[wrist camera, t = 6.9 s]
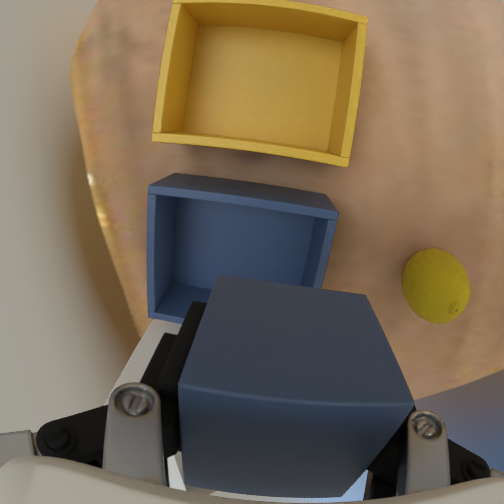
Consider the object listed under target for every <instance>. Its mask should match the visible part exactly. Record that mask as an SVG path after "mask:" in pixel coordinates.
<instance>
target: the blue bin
mask: <svg viewBox="0 0 504 504" xmlns="http://www.w3.org/2000/svg"><path fill="white" fill-rule="evenodd" d="M338 214H339V212H338V210H337V209H336V208H335V206H334V205H333V204H332V202H331V201H330V200H329V198H328V197H327V196H326V195H325V194H321V193H315V192H310V191H304V190H298V189H292V188H286V187H279V186H273V185H266V184H259V183H252V182H245V181H238V180H230V179H223V178H214V177H206V176H197V175H188V174H179V173H174V174H172V175H169V176H167V177H165V178H163V179H161V180H159V181H156V182H154V183H152V184H150V185H149V186H148V209H147V297H148V317H149V318H154V319H159V320H163V321H168V322H173V323H178V324H182V323H183V321H184V319H185V316H186V314H187V312H188V310H189V307H190V305H191V303H192V301H198V302H204V303H207V302H208V300H209V297H210V294H211V292H212V289H213V286H214V284H215V281H216V278H217V276H218V275H219V274H222V275H228V276H235V277H241V278H248V279H255V280H261V281H268V282H275V283H282V284H289V285H296V286H303V287H311V288H318V289H321V287H322V283H323V279H324V275H325V271H326V267H327V263H328V258H329V254H330V250H331V246H332V241H333V237H334V233H335V228H336V224H337V221H336V220H337V219H338Z"/></svg>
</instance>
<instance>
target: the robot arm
mask: <svg viewBox="0 0 504 504" xmlns="http://www.w3.org/2000/svg"><path fill="white" fill-rule="evenodd" d="M206 305H207V303H204V302H198V301H192V303H191V305H190V307H189V310H188V312H187V314H186V316H185V319H184V321H183V323H182V325H181V328H180V330H179V332H178V334H177V335H176V334H171V333H166V332H165V333H164V334H163V336H162V338H161V340H160V342H159V344H158V346H157V348H156V350H155V352H154V354H153V356H152V358H151V360H150V362H149V364H148V366H147V368H146V370H145V372H144V374H143V376H142V378H141V380H140V382H139V383H138V382H131V383H125V384H122V385H120V386H118V387H117V388H115V389H114V391H113V392H112V393H111V395H110V398H109V404H108V405H105V406H101V407H99V408H95V409H92V410H89V411H85V412H82V413H79V414H75V415H72V416H68V417H65V418H61V419H58V420H54V421H51V422H48V423H46V424H44V425H43V426H42V427H41V428H40V429H39V431H38V432H35V433H32V432H31V431H30V430H25V431H17V432H9V433H0V504H504V473H503V472H501V471H498V470H495V469H493V468H492V469H491V470H490V469H489V467H488V465H487V463H486V462H485V460H483V459H482V458H481V457H479V456H477V455H476V454H474V453H472V452H470V451H469V450H466V449H465V448H463V447H462V446H460V445H458V444H456V443H454V442H453V441H451V440H449V439H448V438H447V430H446V426H445V423H444V421H443V420H442V418H440V417H439V416H438V415H437V414H436V413H434V412H432V411H428V410H416V407H415V405H414V406H413V408H412V409H411V411H410V412H409V414H408V415H407V417H406V418H405V420H404V421H403V422H402V424H401V425H400V427H399V428H398V429H397V431H396V432H395V434H394V435H393V436H392V438H391V439H390V440H389V442H388V443H387V444H386V445H385V447H384V448H383V449H382V451H381V452H380V453H379V454H378V456H377V457H376V458H375V459H374V461H373V462H372V463H371V464H370V465H369V467H368V468H367V470H368V475H367V480H366V487H365V493H364V498H363V501H353V502H337V503H277V502H262V501H250V500H240V499H232V498H224V497H217V496H210V495H205V494H199V493H194V492H189V491H184V490H179V489H175V488H170V481H169V470H168V458H169V457H171V456H173V455H175V454H177V451H179V452H181V440H180V422H179V400H178V383H179V380H180V377H181V374H182V371H183V368H184V366H185V363H186V360H187V357H188V354H189V352H190V349H191V346H192V343H193V341H194V338H195V335H196V332H197V330H198V327H199V324H200V321H201V319H202V316H203V313H204V311H205V308H206Z"/></svg>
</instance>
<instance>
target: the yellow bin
mask: <svg viewBox="0 0 504 504" xmlns="http://www.w3.org/2000/svg"><path fill="white" fill-rule="evenodd" d="M367 21H368V18H367V17H364V16H361V15H357V14H353V13H349V12H345V11H341V10H336V9H332V8H327V7H322V6H317V5H311V4H306V3H299V2H293V1H286V0H173V5H172V9H171V14H170V18H169V23H168V28H167V34H166V39H165V44H164V50H163V56H162V62H161V68H160V75H159V82H158V89H157V97H156V105H155V113H154V122H153V133H152V142H162V143H176V144H188V145H199V146H210V147H219V148H228V149H236V150H244V151H252V152H259V153H266V154H273V155H280V156H286V157H292V158H298V159H304V160H310V161H315V162H320V163H326V164H331V165H336V166H341V167H346V168H347V167H348V164H349V158H350V153H351V147H352V141H353V135H354V129H355V123H356V116H357V110H358V103H359V95H360V88H361V80H362V72H363V63H364V54H365V44H366V34H367Z"/></svg>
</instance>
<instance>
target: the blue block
mask: <svg viewBox="0 0 504 504" xmlns="http://www.w3.org/2000/svg"><path fill="white" fill-rule="evenodd" d="M178 400H179V422H180V440H181V454H182V467H183V479H184V484H185V485H189V486H194V487H199V488H205V489H210V490H217V491H223V492H230V493H238V494H247V495H258V496H271V497H293V498H295V497H296V498H328V497H341V496H342V495H343V494H344V493H345V492H346V491H347V490H348V489H349V488H350V487H351V486H352V485H353V484H354V483H355V482H356V480H357V479H358V478H359V477H360V476H361V475H362V474H363V472H364V471H365V470H366V469H367V468H368V467H369V465H370V464H371V463H372V462H373V461H374V459H375V458H376V457H377V456H378V454H379V453H380V452H381V451H382V449H383V448H384V447H385V445H386V444H387V443H388V442H389V440H390V439H391V438H392V436H393V435H394V434H395V432H396V431H397V429H398V428H399V427H400V425H401V424H402V422H403V421H404V420H405V418H406V417H407V415H408V414H409V412H410V411H411V409H412V408H413V406H414V400H413V398H412V395H411V393H410V390H409V388H408V385H407V383H406V381H405V378H404V376H403V374H402V371H401V369H400V367H399V365H398V362H397V360H396V358H395V356H394V353H393V351H392V349H391V347H390V345H389V342H388V340H387V338H386V336H385V334H384V332H383V329H382V327H381V325H380V323H379V321H378V319H377V317H376V315H375V313H374V311H373V309H372V307H371V305H370V303H369V301H368V299H367V297H366V295H364V294H356V293H348V292H341V291H333V290H325V289H318V288H311V287H303V286H296V285H289V284H282V283H275V282H268V281H261V280H255V279H248V278H241V277H235V276H228V275H222V274H219V275H218V276H217V278H216V281H215V284H214V286H213V289H212V292H211V294H210V297H209V300H208V302H207V305H206V308H205V311H204V313H203V316H202V319H201V321H200V324H199V327H198V330H197V332H196V335H195V338H194V341H193V343H192V346H191V349H190V352H189V354H188V357H187V360H186V363H185V366H184V368H183V371H182V374H181V377H180V380H179V383H178Z"/></svg>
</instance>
